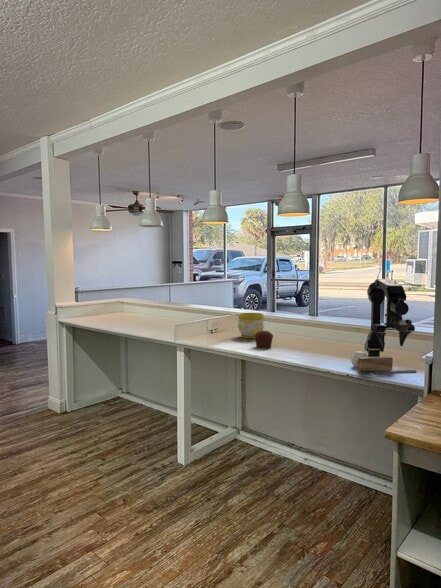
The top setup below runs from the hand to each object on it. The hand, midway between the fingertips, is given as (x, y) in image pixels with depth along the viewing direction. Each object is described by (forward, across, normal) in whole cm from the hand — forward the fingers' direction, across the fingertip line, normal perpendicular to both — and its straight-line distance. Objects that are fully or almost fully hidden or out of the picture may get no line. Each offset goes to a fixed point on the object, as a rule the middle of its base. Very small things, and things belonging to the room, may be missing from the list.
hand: (392, 346), depth 187 cm
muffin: (+14, -38, +75) cm, 85 cm away
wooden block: (+12, -4, +7) cm, 15 cm away
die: (+14, -6, +18) cm, 24 cm away
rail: (+14, +2, +7) cm, 16 cm away
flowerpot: (+15, -37, +110) cm, 117 cm away
